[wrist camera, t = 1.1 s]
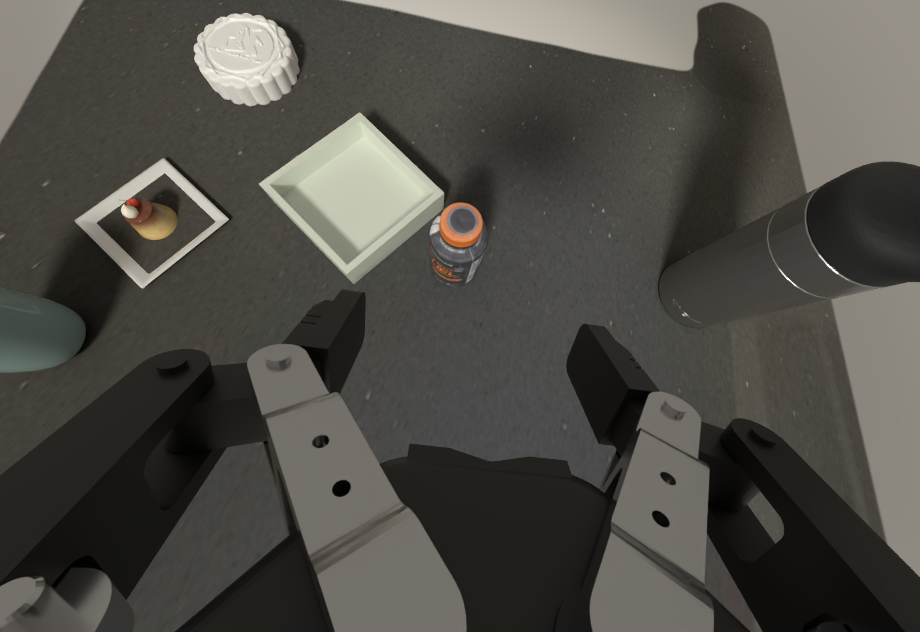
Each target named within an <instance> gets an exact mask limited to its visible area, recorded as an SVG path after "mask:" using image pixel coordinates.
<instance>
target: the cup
mask: <svg viewBox="0 0 920 632" xmlns="http://www.w3.org/2000/svg"><path fill="white" fill-rule="evenodd" d="M85 337H86V326H85V323H84V321H83V319H82V318H81V317H80V316H79V315H78V314H77V313H76V312H75V311H73V310H72V309H70V308H68V307H66V306H64V305H62V304H59V303H57V302H54V301H51V300H49V299H46V298H43V297H39V296H36V295H33V294H29V293H25V292H21V291H18V290H13V289H9V288H5V287H1V286H0V373H15V372H29V371H37V370H44V369H48V368H52V367H55V366H58V365H61V364H63V363H65V362H67V361H69V360H70V359H71V358H72V357H74V356H75V355H76V354H77V353H78V352H79V350H80V349H81V347H82V345H83V343H84V341H85Z"/></svg>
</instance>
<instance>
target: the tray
mask: <svg viewBox="0 0 920 632" xmlns="http://www.w3.org/2000/svg"><path fill="white" fill-rule="evenodd" d="M259 185H260V186H261V187H262V188H263V189H264V191H265V192H266V193H267V194H268V195H269V196H270V198H271V199H272V200H273V201H274V202H275V203H276V204H277V205H278V206H279V207H280V208H281V209H282V210H283V211H284V212H285V214H286V215H287V216H288V217H289V218H290V219H291V220H292V221H293V222H294V223H295V224H296V225H297V226H298V227H299V228H300V229H301V230H302V231H303V232H304V233H305V234H306V235H307V236H308V237H309V238H310V239H311V240H312V242H313V243H314V244H315V245H316V246H317V247H318V248H319V249H320V250H321V251H322V252H323V253H324V254H325V255H326V256H327V257H328V258H329V259H330V260H331V261H332V262H333V263H334V264H335V265H336V266H337V267H338V268H339V270H340V271H341V272H342V273H343V274H344V275H345V276H346V277H347V278H348V279H349V280H350V281H351V282H352V283H353V284H355V283H356V282H357V281H359V280H360V279H361V278H362V277H363V276H365V275H366V274H367V273H368V272H369V271H370V270H372V269H373V268H374V267H375V266H376V265H378V264H379V263H380V262H381V261H382V260H383V259H385V258H386V257H387V256H388V255H389V254H391V253H392V252H393V251H394V250H395V249H396V248H398V247H399V246H400V245H401V244H402V243H404V242H405V241H406V240H407V239H408V238H409V237H411V236H412V235H413V234H414V233H415V232H417V231H418V230H419V229H420V228H421V227H422V226H424V225H425V224H426V223H427V222H428V221H430V220H431V219H432V218H433V217H434V216H435V215H437V214H438V213H439V212H440V211H441V210H443V207H444V192H443V191H442V190H441V189H440V188H438V187H437V186H436V185H435V184H434V183H433V182H432V181H431V180H430V179H429V178H428V177H427V176H426V175H425V174H424V173H423V172H422V171H421V170H420V169H419V168H418V167H417V166H415V165H414V164H413V163H412V162H411V161H410V160H409V159H408V158H407V157H406V156H405V155H404V154H403V153H402V152H401V151H400V150H399V149H398V148H397V147H396V146H395V145H394V144H392V143H391V142H390V141H389V140H388V139H387V138H386V137H385V136H384V135H383V134H382V133H381V132H380V131H379V130H378V129H377V128H376V127H375V126H374V125H373V124H372V123H371V122H369V121H368V120H367V119H366V118H365V117H364V116H363V115H362V114H361V113H358V114H357V115H355V116H354V117H353V118H351V119H350V120H348V121H347V122H346V123H344V124H343V125H341V126H340V127H338V128H337V129H336V130H334V131H333V132H331V133H330V134H329V135H327V136H326V137H324V138H323V139H322V140H320V141H319V142H317V143H316V144H314V145H313V146H312V147H310V148H309V149H307V150H306V151H305V152H303V153H302V154H300V155H299V156H297V157H296V158H295V159H293V160H292V161H290V162H289V163H288V164H286V165H285V166H283V167H282V168H281V169H279V170H278V171H276V172H275V173H273V174H272V175H271V176H269V177H268V178H266V179H265V180H264V181H262V182H261V183H259Z"/></svg>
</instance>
